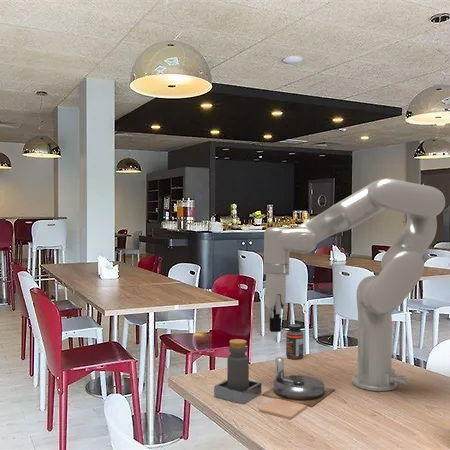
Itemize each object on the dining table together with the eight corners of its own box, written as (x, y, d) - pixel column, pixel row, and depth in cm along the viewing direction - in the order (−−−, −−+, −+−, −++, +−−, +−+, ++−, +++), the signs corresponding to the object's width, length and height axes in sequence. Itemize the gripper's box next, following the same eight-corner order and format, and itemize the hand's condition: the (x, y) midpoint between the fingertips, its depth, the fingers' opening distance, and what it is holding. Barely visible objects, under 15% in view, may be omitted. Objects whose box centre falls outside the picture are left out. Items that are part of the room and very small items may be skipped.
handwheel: (332, 388, 142) (332, 360, 142) (311, 403, 131) (311, 372, 130) (287, 378, 150) (287, 352, 150) (263, 392, 139) (263, 363, 139)
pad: (306, 407, 130) (306, 405, 130) (290, 419, 122) (290, 416, 122) (276, 400, 135) (276, 398, 135) (258, 411, 127) (258, 408, 127)
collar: (261, 393, 140) (261, 382, 140) (243, 404, 132) (243, 392, 132) (233, 387, 145) (233, 376, 145) (214, 396, 138) (214, 385, 138)
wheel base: (334, 390, 142) (334, 389, 142) (312, 407, 130) (312, 405, 130) (287, 380, 151) (287, 379, 151) (261, 395, 138) (261, 394, 138)
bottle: (246, 399, 135) (246, 344, 135) (225, 398, 136) (225, 343, 136) (250, 392, 141) (250, 338, 141) (229, 390, 142) (229, 337, 142)
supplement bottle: (282, 356, 176) (282, 324, 176) (294, 354, 180) (294, 322, 179) (294, 360, 171) (294, 327, 171) (306, 357, 175) (307, 325, 175)
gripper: (260, 266, 156) (259, 325, 156) (267, 272, 141) (266, 337, 141) (284, 266, 156) (283, 325, 157) (293, 272, 141) (292, 337, 142)
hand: (275, 331), depth 149 cm, fingers closed
